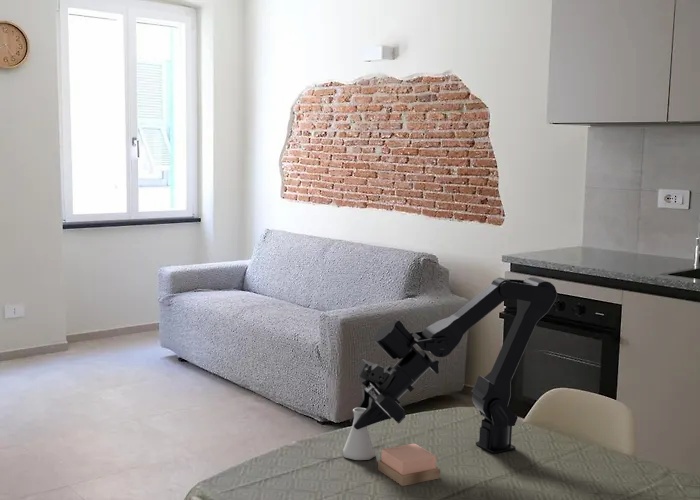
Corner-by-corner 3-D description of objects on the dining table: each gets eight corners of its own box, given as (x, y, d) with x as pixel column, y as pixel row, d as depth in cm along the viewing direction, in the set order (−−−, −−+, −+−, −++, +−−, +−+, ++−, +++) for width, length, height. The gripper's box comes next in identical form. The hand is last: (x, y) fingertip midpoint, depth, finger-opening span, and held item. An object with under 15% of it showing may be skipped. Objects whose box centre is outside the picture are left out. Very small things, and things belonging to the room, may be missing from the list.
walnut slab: (414, 465, 170) (414, 453, 169) (439, 481, 162) (440, 469, 161) (377, 472, 165) (378, 460, 165) (402, 489, 157) (402, 476, 157)
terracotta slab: (414, 454, 169) (414, 443, 168) (436, 468, 162) (436, 456, 161) (381, 460, 165) (381, 449, 164) (402, 475, 158) (402, 462, 157)
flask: (372, 463, 168) (374, 416, 167) (338, 459, 170) (340, 413, 168) (378, 450, 175) (380, 406, 174) (345, 447, 177) (347, 403, 176)
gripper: (369, 337, 180) (319, 387, 178) (392, 359, 162) (336, 414, 160) (402, 371, 182) (353, 420, 181) (428, 395, 164) (373, 450, 163)
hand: (353, 425), depth 171 cm, fingers closed on flask, 3 cm apart
